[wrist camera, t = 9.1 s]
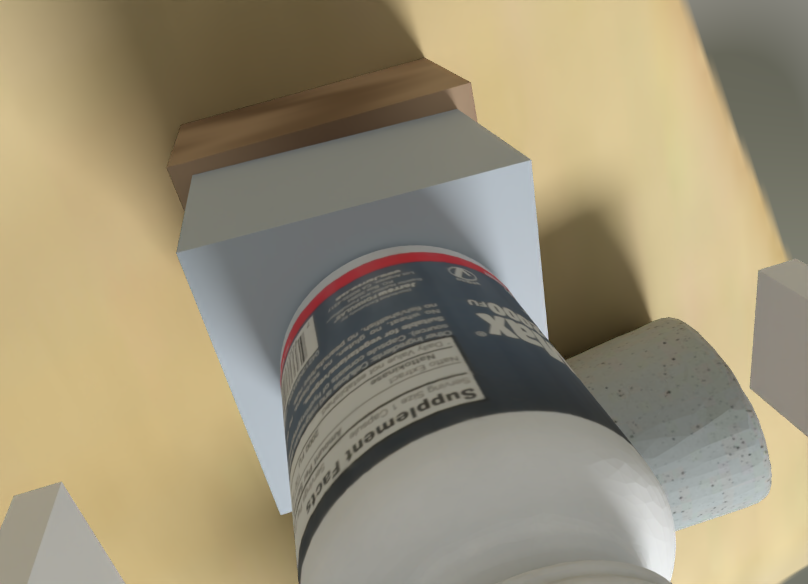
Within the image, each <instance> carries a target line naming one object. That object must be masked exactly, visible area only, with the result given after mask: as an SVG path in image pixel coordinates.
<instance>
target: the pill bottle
mask: <svg viewBox="0 0 808 584" xmlns="http://www.w3.org/2000/svg"><path fill="white" fill-rule="evenodd" d="M280 385H281V395H282V406H283V419H284V430H285V441H286V451H287V462H288V473H289V484H290V494H291V504H292V516H293V527H294V537H295V547H296V560H297V568H298V581H299V584H672V583H671V582H670V581H671V577H672V573H673V569H674V561H675V551H676V537H675V528H674V521H673V516H672V512H671V509H670V506H669V503H668V500H667V497H666V495H665V492H664V491H663V489H662V487H661V485H660V483H659V481H658V480H657V478H656V477H655V475H654V474H653V472H652V471H651V469H650V467H649V466H648V465H647V463H646V462H645V460H644V459H643V458H642V456H641V455H640V454H639V453H638V451H637V450H636V449H635V447H634V446H633V445H632V444H631V442H630V441H629V440H628V438H627V437H626V436H625V435H624V434H623V432H622V431H621V430H620V429H619V427H618V426H617V425H616V424H615V422H614V421H613V420H612V419H611V417H610V416H609V415H608V414H607V412H606V411H605V410H604V409H603V408H602V406H601V405H600V404H599V403H598V401H597V400H596V399H595V398H594V397H593V395H592V394H591V393H590V392H589V390H588V389H587V388H586V387H585V385H584V384H583V383H582V382H581V380H580V379H579V378H578V376H577V375H576V374H575V373H574V371H573V370H572V369H571V368H570V366H569V365H568V364H567V362H566V361H565V360H564V358H563V357H562V356H561V355H560V354H559V352H558V351H557V350H556V349H555V348H554V346H553V345H552V344H551V343H550V342H549V340H548V339H547V338H546V337H545V336H544V334H543V333H542V332H541V331H540V329H539V328H538V327H537V325H536V324H535V323H534V322H533V320H532V319H531V318H530V317H529V315H528V314H527V313H526V312H525V310H524V309H523V308H522V307H521V305H520V304H519V303H518V302H517V300H516V299H515V297H514V296H513V295H512V294H511V292H510V291H509V290H508V288H507V287H506V286H505V285H504V284H503V283H502V282H501V281H500V280H499V279H498V278H497V277H496V276H495V275H494V274H493V273H492V272H491V271H489V270H488V269H487V268H486V267H484V266H483V265H482V264H480V263H478V262H477V261H475V260H473V259H471V258H469V257H467V256H465V255H463V254H461V253H458V252H455V251H452V250H449V249H444V248H439V247H433V246H425V245H407V246H396V247H391V248H386V249H381V250H378V251H375V252H372V253H369V254H366V255H364V256H361V257H359V258H356V259H354V260H352V261H350V262H348V263H347V264H345V265H343V266H342V267H340V268H338V269H337V270H335V271H334V272H332V273H331V274H330V275H328V276H327V277H326V278H325V279H323V280H322V281H321V282H320V283H319V284H318V285H317V286H316V287H315V288H314V289H313V290H312V291H311V292H310V293H309V294H308V296H307V297H306V298H305V299H304V300H303V302H302V303H301V305H300V306H299V307H298V309H297V311H296V312H295V314H294V316H293V318H292V320H291V322H290V324H289V327H288V329H287V331H286V334H285V338H284V341H283V346H282V350H281V359H280Z"/></svg>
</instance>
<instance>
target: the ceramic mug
mask: <svg viewBox="0 0 808 584" xmlns="http://www.w3.org/2000/svg"><path fill="white" fill-rule="evenodd" d="M565 361H566V362H567V364H568V365H569V366H570V368H571V369H572V370H573V371H574V373H575V374H576V375H577V376H578V378H579V379H580V380H581V382H582V383H583V384H584V385H585V387H586V388H587V389H588V390H589V392H590V393H591V394H592V395H593V397H594V398H595V399H596V400H597V401H598V403H599V404H600V405H601V406H602V408H603V409H604V410H605V411H606V412H607V414H608V415H609V416H610V417H611V419H612V420H613V421H614V422H615V424H616V425H617V426H618V427H619V429H620V430H621V431H622V432H623V434H624V435H625V436H626V437H627V438H628V440H629V441H630V442H631V444H632V445H633V446H634V447H635V449H636V450H637V451H638V453H639V454H640V455H641V456H642V458H643V459H644V460H645V462H646V463H647V465H648V466H649V467H650V469H651V471H652V472H653V474H654V475H655V477H656V478H657V480H658V481H659V483H660V485H661V487H662V489H663V491H664V492H665V495H666V497H667V500H668V503H669V506H670V509H671V512H672V516H673V521H674V528H675V531H677V530H680V529H683V528H686V527H689V526H692V525H695V524H698V523H701V522H704V521H707V520H710V519H713V518H716V517H719V516H722V515H725V514H728V513H731V512H734V511H737V510H740V509H743V508H746V507H748V506H751V505H753V504H756V503H758V502H760V501H761V500H763V499H764V498H765V497H766V496H767V495H768V493H769V491H770V487H771V477H772V474H771V464H770V460H769V455H768V450H767V446H766V441H765V438H764V435H763V432H762V429H761V426H760V423H759V420H758V418H757V415H756V413H755V411H754V409H753V407H752V405H751V403H750V401H749V399H748V398H747V396H746V395H745V393H744V392H743V390H742V389H741V387H740V385H739V383H738V381H737V379H736V377H735V376H734V374H733V372H732V371H731V369H730V368H729V367H728V365H727V364H726V363H725V362H724V361H723V359H722V358H721V357H720V356H719V355H718V353H717V352H716V351H715V349H714V348H713V347H712V346H711V345H710V344H709V343H708V342H707V341H706V340H705V339H704V338H703V337H702V336H701V335H700V334H699V333H698V332H697V331H696V330H694V329H693V328H692V327H690V326H689V325H687V324H686V323H684V322H682V321H680V320H679V319H675V318H670V317H668V318H661V319H658V320H655V321H652V322H650V323H648V324H646V325H644V326H642V327H640V328H638V329H636V330H634V331H631V332H629V333H626V334H624V335H621V336H619V337H616V338H614V339H612V340H609V341H607V342H605V343H603V344H600V345H598V346H596V347H594V348H591V349H589V350H587V351H585V352H583V353H580V354H578V355H576V356H574V357H571V358H569V359H567V360H565Z"/></svg>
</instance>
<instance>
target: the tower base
mask: <svg viewBox="0 0 808 584" xmlns="http://www.w3.org/2000/svg"><path fill="white" fill-rule="evenodd" d="M454 109H458V110H460V111H461V112H463V113H464V114H465V115H467V116H468V117H470V118H471V119H473V120H474V121H476V122H477V117H476V111H475V105H474V99H473V92H472V86H471V82H469V81H467V80H465V79H463V78H462V77H460V76H458V75H456V74H454V73H452V72H450V71H448V70H447V69H445V68H443V67H441V66H439V65H437V64H435V63H434V62H432V61H430V60H428V59H426V58H422V59H419V60H415V61H411V62H408V63H404V64H401V65H397V66H393V67H390V68H386V69H382V70H379V71H375V72H371V73H368V74H364V75H361V76H357V77H353V78H350V79H346V80H342V81H339V82H335V83H332V84H328V85H324V86H321V87H317V88H313V89H310V90H306V91H302V92H299V93H295V94H292V95H288V96H284V97H281V98H277V99H273V100H270V101H266V102H262V103H259V104H255V105H252V106H248V107H244V108H241V109H237V110H233V111H230V112H226V113H222V114H219V115H215V116H212V117H208V118H204V119H201V120H197V121H193V122H190V123H186V124H182V125H181V127H180V129H179V132H178V135H177V138H176V141H175V144H174V147H173V150H172V153H171V156H170V159H169V162H168V165H167V170H168V173H169V175H170V177H171V180H172V182H173V185H174V187H175V190H176V192H177V194H178V197H179V199H180V202H181V204H182V206H183V209H184V211H185V209H186V204H187V199H188V194H189V189H190V184H191V179H192V175H195V174H199V173H203V172H207V171H211V170H215V169H219V168H223V167H227V166H231V165H235V164H239V163H243V162H247V161H251V160H255V159H259V158H263V157H267V156H271V155H275V154H279V153H283V152H287V151H291V150H295V149H299V148H303V147H307V146H311V145H315V144H319V143H323V142H327V141H331V140H335V139H339V138H343V137H347V136H351V135H355V134H359V133H363V132H367V131H371V130H375V129H379V128H383V127H387V126H391V125H395V124H399V123H403V122H407V121H411V120H415V119H419V118H422V117H426V116H430V115H434V114H438V113H442V112H446V111H450V110H454Z"/></svg>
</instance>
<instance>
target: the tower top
mask: <svg viewBox="0 0 808 584" xmlns="http://www.w3.org/2000/svg"><path fill="white" fill-rule="evenodd" d="M407 245H425V246H433V247H439V248H444V249H449V250H452V251H455V252H458V253H461V254H463V255H465V256H467V257H469V258H471V259H473V260H475V261H477V262H478V263H480V264H482V265H483V266H484V267H486V268H487V269H488V270H489V271H491V272H492V273H493V274H494V275H495V276H496V277H497V278H498V279H499V280H500V281H501V282H502V283H503V284H504V285H505V286H506V287H507V288H508V290H509V291H510V292H511V294H512V295H513V296H514V297H515V299H516V300H517V302H518V303H519V304H520V305H521V307H522V308H523V309H524V310H525V312H526V313H527V314H528V315H529V317H530V318H531V319H532V320H533V322H534V323H535V324H536V325H537V327H538V328H539V329H540V331H541V332H542V333H543V334H544V336H545V337H546V338H547V339H548V329H547V319H546V309H545V298H544V288H543V277H542V267H541V257H540V246H539V236H538V226H537V215H536V205H535V194H534V184H533V174H532V163H531V160H530V159H529V158H528V157H526V156H525V155H523V154H522V153H520V152H519V151H517V150H516V149H515V148H513V147H512V146H510V145H509V144H507V143H506V142H504V141H503V140H502V139H500V138H499V137H497V136H496V135H494V134H493V133H491V132H490V131H489V130H487V129H486V128H484V127H483V126H481V125H480V124H478V123H477V122H476V121H474V120H473V119H471V118H470V117H468V116H467V115H465V114H464V113H463V112H461V111H460V110H458V109H454V110H450V111H446V112H442V113H438V114H434V115H430V116H426V117H422V118H419V119H415V120H411V121H407V122H403V123H399V124H395V125H391V126H387V127H383V128H379V129H375V130H371V131H367V132H363V133H359V134H355V135H351V136H347V137H343V138H339V139H335V140H331V141H327V142H323V143H319V144H315V145H311V146H307V147H303V148H299V149H295V150H291V151H287V152H283V153H279V154H275V155H271V156H267V157H263V158H259V159H255V160H251V161H247V162H243V163H239V164H235V165H231V166H227V167H223V168H219V169H215V170H211V171H207V172H203V173H199V174H195V175H192V179H191V184H190V189H189V194H188V199H187V204H186V209H185V213H184V218H183V223H182V228H181V233H180V238H179V242H178V247H177V252H176V254H177V256H178V259H179V261H180V264H181V266H182V269H183V271H184V274H185V276H186V279H187V281H188V284H189V286H190V289H191V291H192V294H193V296H194V299H195V301H196V304H197V306H198V309H199V311H200V314H201V316H202V319H203V321H204V324H205V326H206V329H207V331H208V334H209V336H210V339H211V341H212V344H213V346H214V349H215V352H216V354H217V357H218V359H219V362H220V364H221V367H222V369H223V372H224V374H225V377H226V379H227V382H228V384H229V387H230V389H231V392H232V394H233V397H234V399H235V402H236V404H237V407H238V409H239V412H240V414H241V417H242V419H243V422H244V424H245V427H246V429H247V432H248V434H249V437H250V439H251V442H252V444H253V447H254V449H255V452H256V454H257V457H258V459H259V462H260V465H261V467H262V470H263V472H264V475H265V477H266V480H267V482H268V485H269V487H270V490H271V492H272V495H273V497H274V500H275V502H276V505H277V507H278V510H279V512H280V515H283V514H286V513H289V512H292V504H291V494H290V484H289V473H288V462H287V451H286V441H285V430H284V419H283V406H282V395H281V385H280V359H281V350H282V346H283V341H284V338H285V334H286V331H287V329H288V327H289V324H290V322H291V320H292V318H293V316H294V314H295V312H296V311H297V309H298V307H299V306H300V305H301V303H302V302H303V300H304V299H305V298H306V297H307V296H308V294H309V293H310V292H311V291H312V290H313V289H314V288H315V287H316V286H317V285H318V284H319V283H320V282H321V281H322V280H323V279H325V278H326V277H327V276H328V275H330V274H331V273H332V272H334V271H335V270H337V269H338V268H340V267H342V266H343V265H345V264H347V263H348V262H350V261H352V260H354V259H356V258H359V257H361V256H364V255H366V254H369V253H372V252H375V251H378V250H381V249H386V248H391V247H396V246H407Z"/></svg>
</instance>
